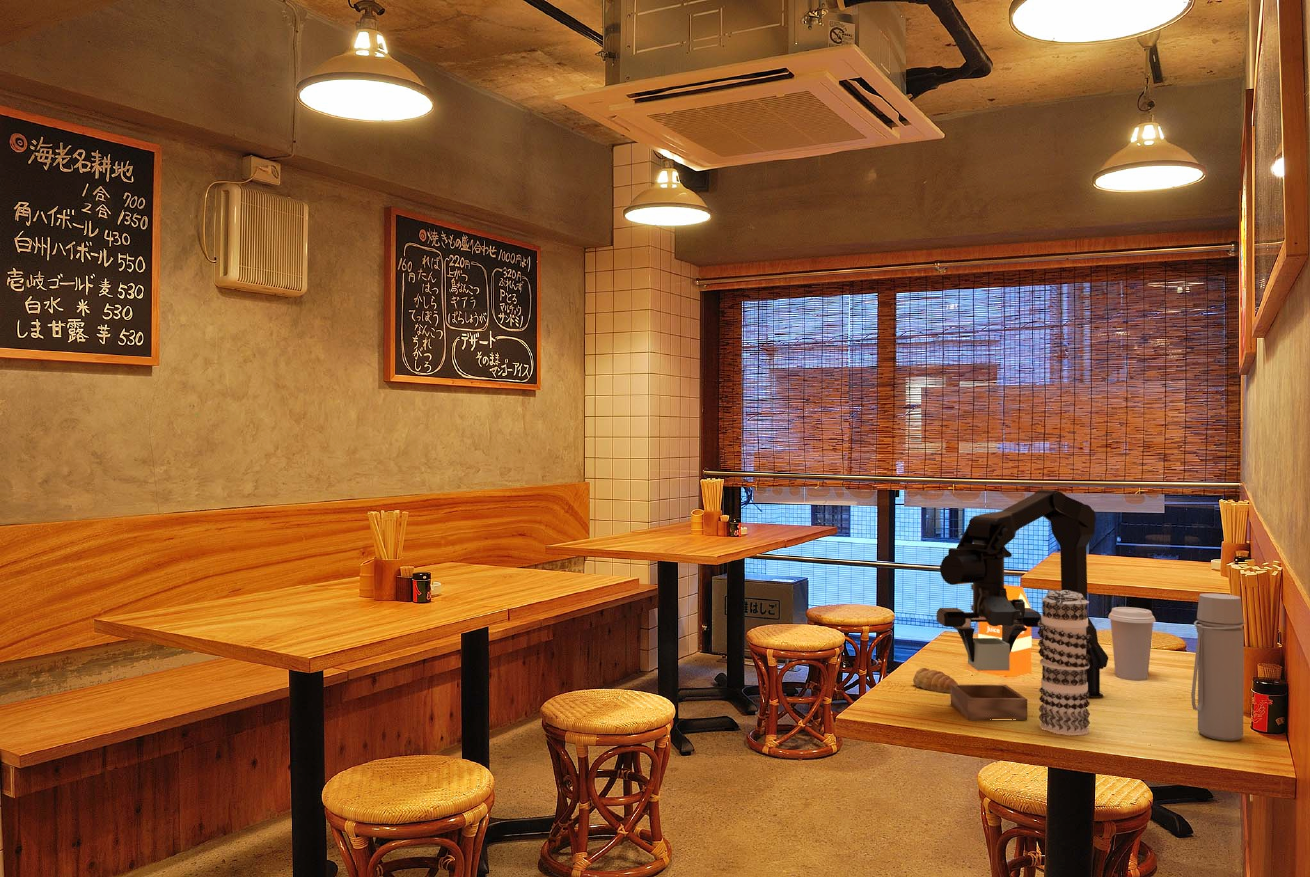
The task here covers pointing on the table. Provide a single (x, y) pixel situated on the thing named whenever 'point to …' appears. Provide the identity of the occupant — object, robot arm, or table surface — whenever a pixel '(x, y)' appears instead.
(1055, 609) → the decorative candle
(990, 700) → the big crate
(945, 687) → the pastry
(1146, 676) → the coffee cup
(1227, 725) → the water bottle
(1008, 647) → the small crate
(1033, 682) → the table surface
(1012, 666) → the orange juice
